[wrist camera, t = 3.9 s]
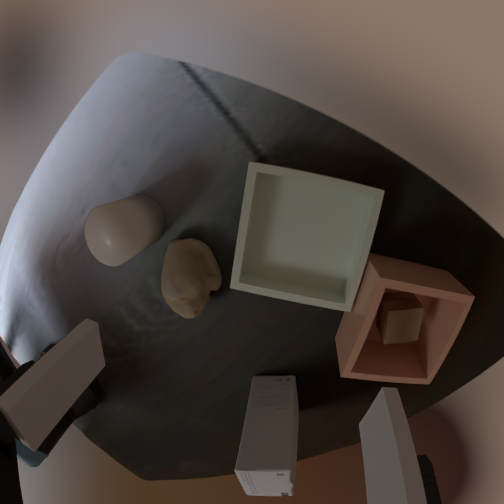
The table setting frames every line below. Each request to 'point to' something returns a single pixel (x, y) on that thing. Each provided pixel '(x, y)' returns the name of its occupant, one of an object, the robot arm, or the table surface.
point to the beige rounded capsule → (123, 228)
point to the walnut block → (399, 317)
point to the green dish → (304, 236)
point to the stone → (189, 276)
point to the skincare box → (269, 437)
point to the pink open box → (406, 353)
